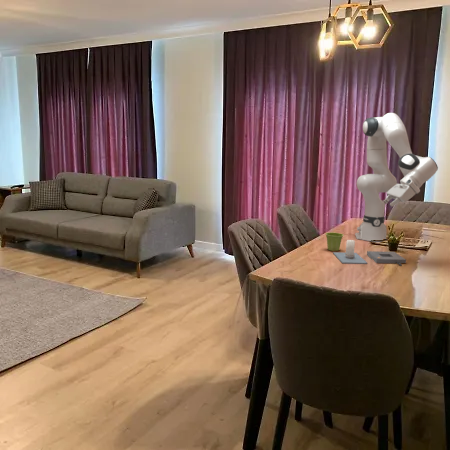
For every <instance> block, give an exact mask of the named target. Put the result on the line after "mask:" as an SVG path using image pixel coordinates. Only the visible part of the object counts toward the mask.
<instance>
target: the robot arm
mask: <svg viewBox="0 0 450 450" xmlns="http://www.w3.org/2000/svg"><path fill="white" fill-rule="evenodd" d="M362 131H363V134H364V135H365V136H366V137H367V143H366V164H367V165H368V167H370V168H371V169H372V171H373V173H366V174H362V175H360V176H358V178H357V180H356V188H357V189H358V191H359V192H360V193H361V194H362V196H363V200H364V215H363V216H362V217H363V219H362V223H360V225H359V226H357V228H356V231H358V232H355V234H354V235H355V238H356V240H363V241H368V242H372V241H371V240H383V239H386V237H387V225H386V224H385V220H386V219H385V218H386V217H385V208H386V205H388V203H389V202H390V200H392V199H393V201H391V202H390V203H389V206H390V207H395V206H396V205H397V204H399V203H401V202H402V203H407V202H408V201H409V200H411V198H413V197H414V196H416V194H417V195H418V194H419V193H420V192H421V189H420V188H421V187H422V186H423V184H424V183H426V182H428V181H429V180H430V179H432V177H434V175H435V174H436V173H437V171H438V169H439V166H438V163H437V162H436V161H435V159H433V158H432V157H430V156H425V157H424V156H423V157H422V156H419V155H415V154H414V153H413V151H412V149H411V145H410V141H409V140H410V139H409V136H408V132H407V128H406V126H405V124H404V122H403V120H402V118H400V116H399V115H398V114H397V113H395V112H388V113H386V114H384V115H383V116H377V117H373V116H371V117H368V118H366V119H364V121H363V123H362ZM387 143H389V146H391V148H392V149H393V150H394V151H395V152H396V153H397V154H396V155H398V157H399V159H398V162H397V164H398V168H399V169H400V171H401V173H402V175H403V178H402V179H401V178H400V180H399V182H400V183H398V181H397V177H395V175H393V174H392V172H391V170H390V168H389V165H388V157H387V156H388V151H387V149H388V148H387V147H388V145H387ZM380 193H386V195H387V196H386V197H385V199H383V200H382V199H381V197H380Z"/></svg>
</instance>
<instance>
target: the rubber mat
mask: <svg viewBox="0 0 450 450" xmlns="http://www.w3.org/2000/svg"><path fill="white" fill-rule="evenodd" d="M332 254H333V255H334V256H335V257H336V258H337V259H338V261H339V262H340V263H341V264H343V265H344V264H345V265H346V264H348V265H349V264H352V265H353V264H354V265H356V264H357V265H367V264H368V261H366V259H364V258H363V257H361V255H359V254H358V253H357V252H354V255H355V257H354V258H352V259H351V258H345V254H346V252H337V251H332Z"/></svg>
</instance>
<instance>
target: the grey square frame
mask: <svg viewBox="0 0 450 450" xmlns="http://www.w3.org/2000/svg"><path fill="white" fill-rule="evenodd" d="M367 255H368V257H369V258H370V259H371V260H372V259H373V260H374V261H373V260H372V261H373V262H375V263H376V264H396V263H397V264H396V265H398V264H399V265H398V266H399V267H403V264H401V263H407V259H406V258H404V257H403V256H401V254H398V253H397V252H395V251H380V250H379V251H372V250H369V251H366V256H367Z"/></svg>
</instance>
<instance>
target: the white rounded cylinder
mask: <svg viewBox="0 0 450 450" xmlns="http://www.w3.org/2000/svg"><path fill="white" fill-rule="evenodd" d="M355 243H356V240H353V239H347V240H346V245H345V253H346V254H345V258H351V259H352V258H354V257H355V255H354V253H355V246H356V244H355Z"/></svg>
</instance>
